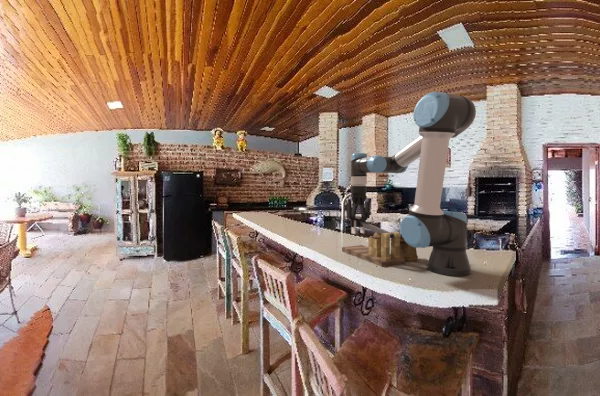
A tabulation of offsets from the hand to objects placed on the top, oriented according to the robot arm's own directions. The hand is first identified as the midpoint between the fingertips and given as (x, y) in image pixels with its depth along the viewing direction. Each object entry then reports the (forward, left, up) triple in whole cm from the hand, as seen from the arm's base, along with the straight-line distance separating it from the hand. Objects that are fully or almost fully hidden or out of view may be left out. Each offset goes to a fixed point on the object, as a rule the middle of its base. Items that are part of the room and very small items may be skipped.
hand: (358, 233), depth 147 cm
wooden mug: (-20, -14, -10) cm, 26 cm away
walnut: (-15, 0, -1) cm, 15 cm away
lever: (-11, 0, +2) cm, 11 cm away
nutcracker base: (-10, 0, -9) cm, 14 cm away
